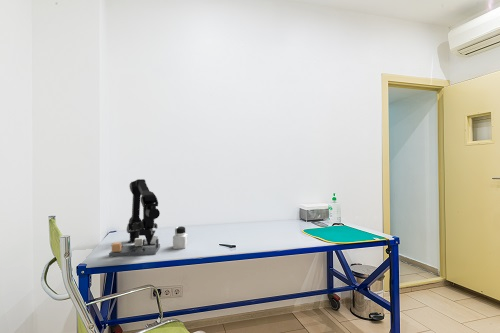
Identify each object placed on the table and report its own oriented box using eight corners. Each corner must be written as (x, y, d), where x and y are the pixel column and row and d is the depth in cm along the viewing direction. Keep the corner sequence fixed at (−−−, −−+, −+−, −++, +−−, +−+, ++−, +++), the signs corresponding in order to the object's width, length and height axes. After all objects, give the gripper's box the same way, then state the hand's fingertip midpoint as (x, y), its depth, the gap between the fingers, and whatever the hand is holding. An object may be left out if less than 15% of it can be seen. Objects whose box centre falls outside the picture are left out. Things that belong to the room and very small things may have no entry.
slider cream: (136, 244, 161) (136, 238, 161) (143, 244, 161) (143, 237, 161) (134, 246, 158) (134, 239, 158) (141, 246, 158) (141, 239, 158)
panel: (117, 249, 160) (117, 238, 160) (160, 247, 164) (160, 236, 164) (109, 256, 146) (109, 244, 146) (156, 254, 150) (155, 242, 150)
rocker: (147, 238, 161) (147, 236, 161) (157, 237, 162) (157, 235, 162) (143, 248, 150) (142, 245, 150) (154, 247, 151) (154, 245, 151)
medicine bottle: (187, 245, 167) (187, 225, 167) (185, 248, 160) (184, 228, 160) (175, 245, 167) (175, 225, 167) (172, 248, 160) (172, 228, 160)
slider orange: (113, 250, 150) (113, 243, 150) (121, 249, 151) (121, 242, 151) (111, 251, 147) (111, 244, 147) (119, 251, 148) (119, 244, 148)
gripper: (137, 214, 160) (138, 241, 160) (128, 220, 141) (128, 250, 141) (157, 213, 161) (157, 240, 161) (150, 219, 143) (151, 249, 143)
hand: (148, 244), depth 152 cm, fingers closed
